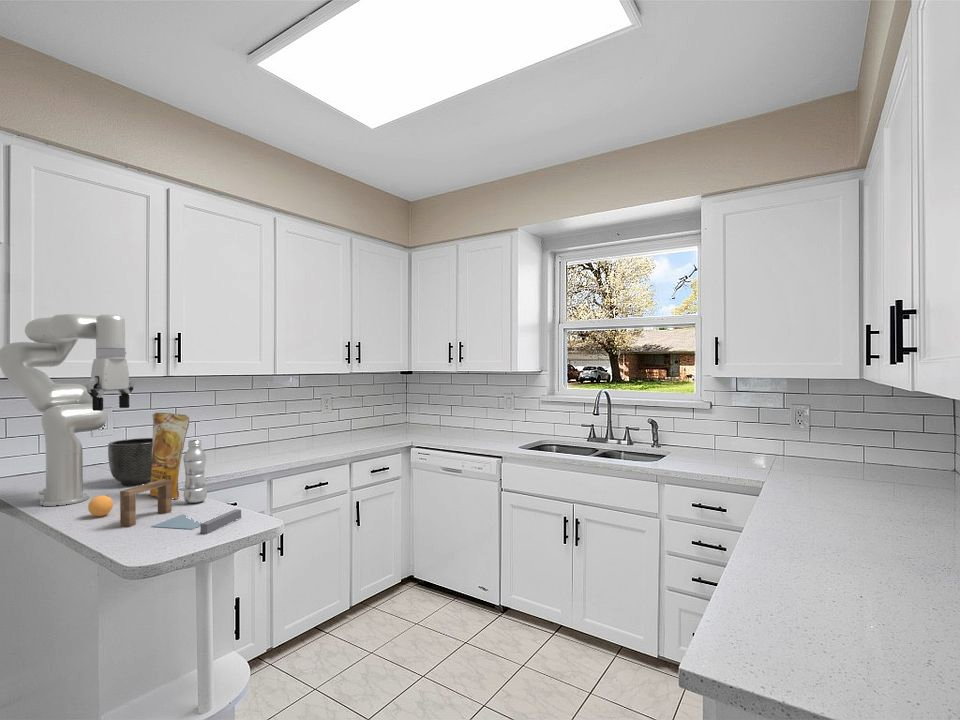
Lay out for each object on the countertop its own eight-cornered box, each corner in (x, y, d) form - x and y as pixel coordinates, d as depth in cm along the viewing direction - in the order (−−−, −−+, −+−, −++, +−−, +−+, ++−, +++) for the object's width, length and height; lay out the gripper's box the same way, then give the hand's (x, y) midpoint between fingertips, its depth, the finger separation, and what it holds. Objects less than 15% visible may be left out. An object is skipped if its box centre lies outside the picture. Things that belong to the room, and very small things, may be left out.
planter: (137, 490, 188) (137, 445, 188) (96, 488, 191) (95, 444, 191) (173, 479, 205) (173, 438, 205) (135, 478, 208) (134, 437, 208)
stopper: (200, 533, 139) (200, 523, 139) (235, 517, 153) (235, 509, 153) (207, 533, 139) (207, 524, 139) (241, 518, 152) (241, 509, 152)
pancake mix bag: (163, 490, 187) (162, 411, 187) (192, 497, 177) (191, 414, 177) (142, 494, 182) (142, 413, 182) (171, 502, 171) (170, 415, 171)
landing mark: (151, 527, 145) (151, 526, 145) (186, 513, 158) (186, 512, 158) (192, 529, 142) (192, 528, 142) (224, 515, 155) (224, 515, 155)
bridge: (120, 526, 146) (120, 491, 146) (163, 511, 160) (162, 479, 160) (129, 526, 145) (129, 491, 145) (171, 511, 160) (171, 479, 160)
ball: (82, 518, 153) (82, 497, 153) (101, 512, 159) (101, 492, 159) (100, 519, 152) (100, 498, 152) (118, 513, 158) (118, 493, 158)
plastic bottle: (211, 500, 172) (211, 439, 172) (194, 506, 166) (193, 442, 166) (196, 499, 174) (195, 438, 174) (178, 504, 168) (178, 441, 168)
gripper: (123, 355, 174) (123, 406, 174) (75, 354, 157) (75, 411, 157) (143, 354, 173) (143, 406, 173) (97, 353, 156) (97, 411, 156)
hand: (111, 409), depth 165 cm, fingers open, 9 cm apart
